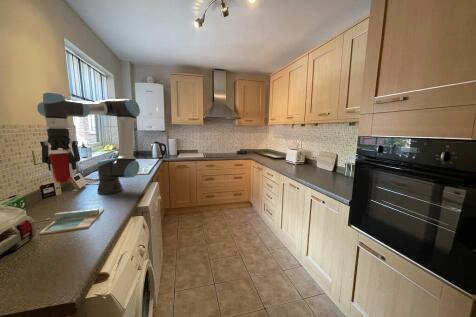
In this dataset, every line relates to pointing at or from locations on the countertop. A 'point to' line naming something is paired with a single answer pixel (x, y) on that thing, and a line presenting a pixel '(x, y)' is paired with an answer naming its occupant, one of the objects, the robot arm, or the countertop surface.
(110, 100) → the robot arm
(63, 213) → the rail
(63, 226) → the board
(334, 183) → the countertop surface
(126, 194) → the countertop surface
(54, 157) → the coffee cup
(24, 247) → the countertop surface
